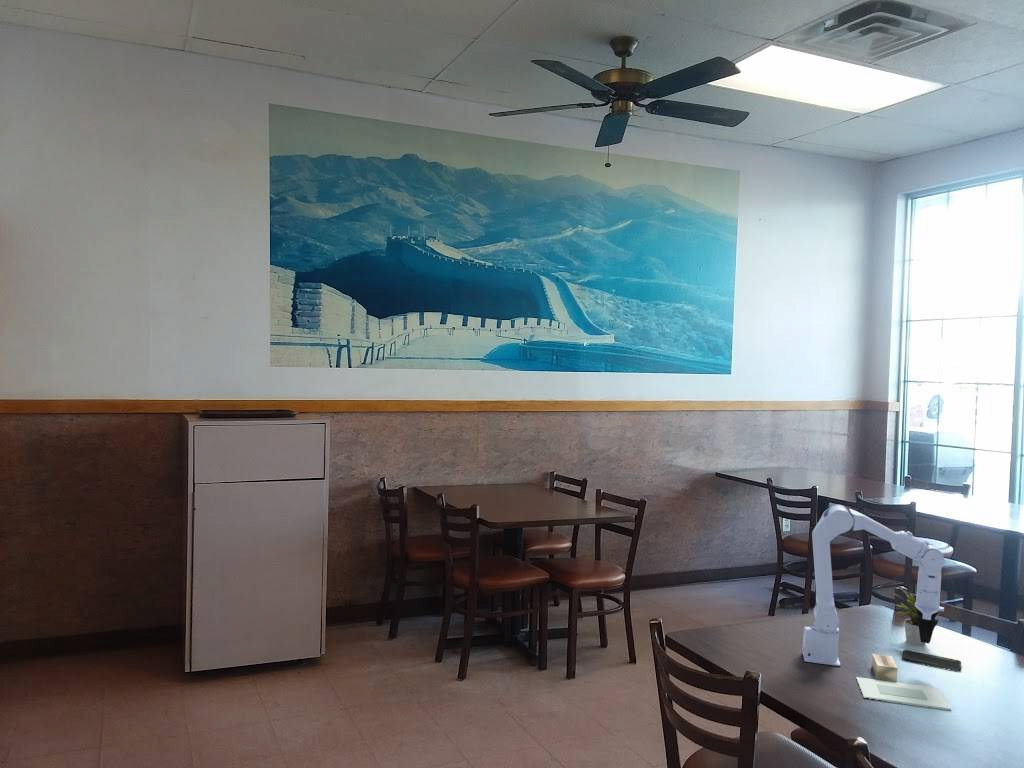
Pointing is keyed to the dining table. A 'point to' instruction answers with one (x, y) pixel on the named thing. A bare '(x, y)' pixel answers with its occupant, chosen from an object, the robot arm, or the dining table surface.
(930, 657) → the phone
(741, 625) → the dining table surface
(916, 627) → the house plant
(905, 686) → the mat
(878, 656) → the card box
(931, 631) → the robot arm
